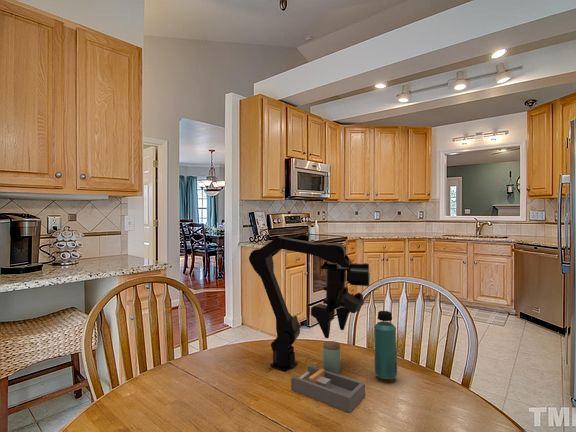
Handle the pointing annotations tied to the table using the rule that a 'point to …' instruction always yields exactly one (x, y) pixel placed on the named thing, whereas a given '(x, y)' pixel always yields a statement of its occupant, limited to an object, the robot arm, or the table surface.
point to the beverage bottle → (385, 347)
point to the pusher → (320, 379)
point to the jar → (332, 356)
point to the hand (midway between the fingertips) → (334, 333)
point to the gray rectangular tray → (330, 389)
